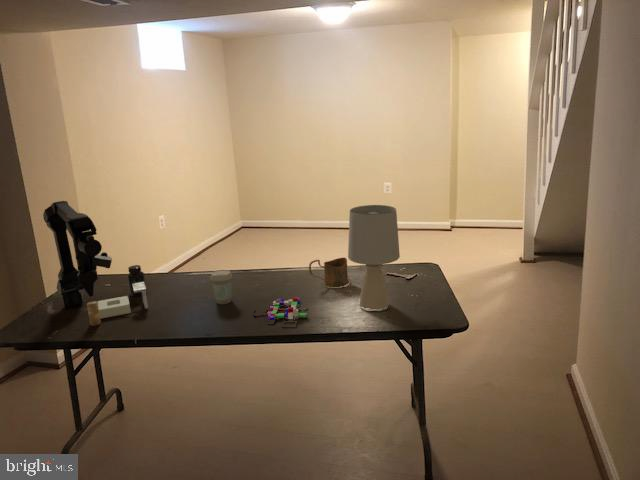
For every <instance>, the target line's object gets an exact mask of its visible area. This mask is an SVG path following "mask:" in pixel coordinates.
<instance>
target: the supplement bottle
mask: <svg viewBox="0 0 640 480" xmlns="http://www.w3.org/2000/svg"><path fill="white" fill-rule="evenodd" d="M126 278H127V284H128V291H129V295H130V296H131V297H142V292H137V293H134V290H133V286H132V284H134V283H140V282H144V284H145V287H146V294H147V292H148V289H147V283H146V277H145V273H144V272H143V271H142V268H141V265H140V264H139V265H138V264H134V265H130V266H129V267H128V273H127V277H126Z"/></svg>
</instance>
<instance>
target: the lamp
mask: <svg viewBox="0 0 640 480" xmlns="http://www.w3.org/2000/svg"><path fill="white" fill-rule="evenodd" d="M348 222H349V223H348V245H347V246H348V249H347V258H348V259H347V260H349V261H351V262H353V263H356V264H361V265H365V268H366V271H365V274H364V276H363V279H362V283H361V289H360V295H359V299H360V300H359V306H360V305H361V306H362V307H364V308H370V309H380V308H384V307H387V306H388V305H389V304H390V296H389V291H388V284H387V280H386V277H385V274H384V272H383V271H382V269H381V268H382V266H383V265H386V264H387V265H388V264H390V263H393V262H396V261H398V260H399V259H400V257H401V256H400V244H399V243H400V242H399V241H400V240H399V228H398V214H397V209H396V207H394V206H390V205H382V204H368V205H359V206H355V207H352V208H350V210H349V219H348Z"/></svg>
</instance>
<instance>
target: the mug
mask: <svg viewBox="0 0 640 480" xmlns="http://www.w3.org/2000/svg"><path fill="white" fill-rule="evenodd" d="M316 262H317V264H318V265H319V267H321V268H322V269H323V268H324V269H323V270H324V272H323V273H324V278H322V277H321V276H319V275H315V274H313V272H312V264H314V263H316ZM320 262H321V261H320V259H315V260H311V261H310V263H309V264H308V269H309V273H310V275H311V276H313V277H315V278H318V279H320V280H322V281H323V282H322V285H323V284H324V285H325V286H329V287H340V286H344V285H346V284H348V283H349V281H350V280H349V277H348V259H347V258H346V257H339V258H335V259H331V260H329V261H325V262H323V265H321V263H320Z"/></svg>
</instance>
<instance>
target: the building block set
mask: <svg viewBox="0 0 640 480" xmlns="http://www.w3.org/2000/svg"><path fill="white" fill-rule="evenodd" d="M281 299H282V298H276V299H275V300H274V301H273V302H272V303H273V305H275V306H270V309H273V310H268V312H267V314H268V316H267V319H268V318H269V320H274V318H284V317H288V319H293V316H295V317H296V316H306V315H307V316H308V313H307V312H299V310H298V309H296V308H297V307H298V306H297V305H298V304H300V305H301V303H300V302H301V299H300V297H293V298H292V299H291V298H289V299H288V300H283V301H281ZM280 305H286V306H287V307H288V308H286V311H284V312H285V313H278V314H276V313H277V311H278V308H279V306H280ZM289 305H291V307H289ZM278 312H279V311H278ZM269 320H268V321H269Z"/></svg>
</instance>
